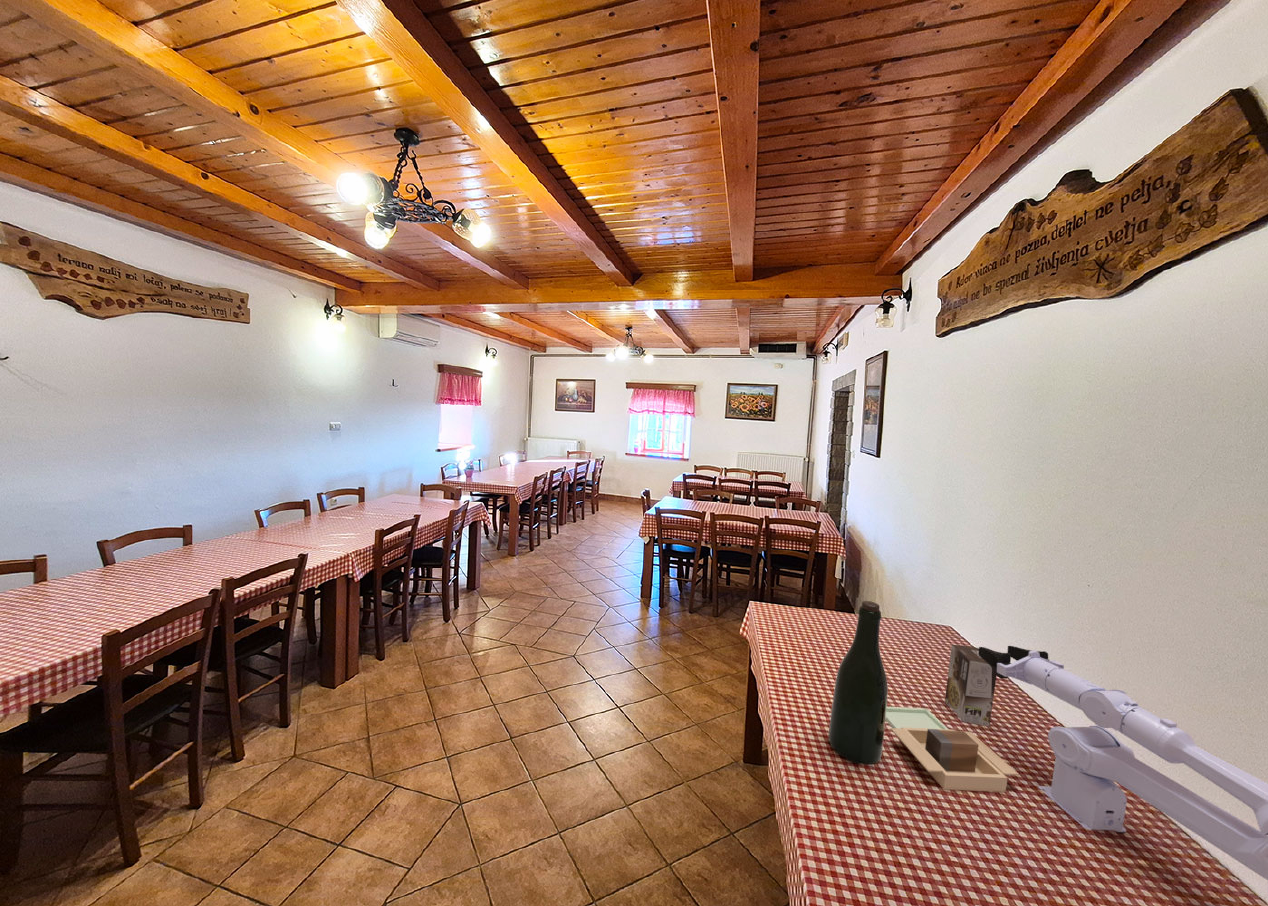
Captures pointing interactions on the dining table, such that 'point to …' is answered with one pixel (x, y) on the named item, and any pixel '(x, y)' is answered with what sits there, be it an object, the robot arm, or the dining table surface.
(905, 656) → the dining table surface
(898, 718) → the green tray
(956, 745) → the walnut block
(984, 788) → the carton
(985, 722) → the coffee box
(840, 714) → the beer bottle
